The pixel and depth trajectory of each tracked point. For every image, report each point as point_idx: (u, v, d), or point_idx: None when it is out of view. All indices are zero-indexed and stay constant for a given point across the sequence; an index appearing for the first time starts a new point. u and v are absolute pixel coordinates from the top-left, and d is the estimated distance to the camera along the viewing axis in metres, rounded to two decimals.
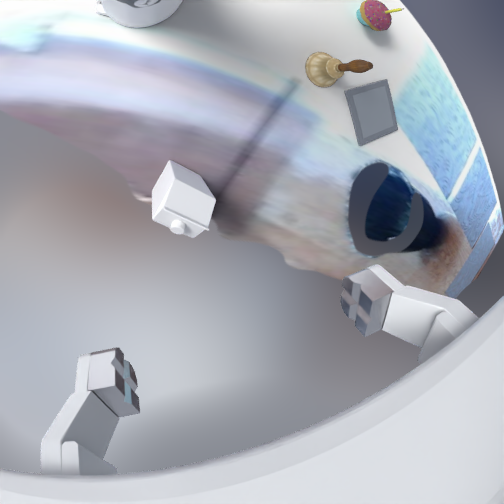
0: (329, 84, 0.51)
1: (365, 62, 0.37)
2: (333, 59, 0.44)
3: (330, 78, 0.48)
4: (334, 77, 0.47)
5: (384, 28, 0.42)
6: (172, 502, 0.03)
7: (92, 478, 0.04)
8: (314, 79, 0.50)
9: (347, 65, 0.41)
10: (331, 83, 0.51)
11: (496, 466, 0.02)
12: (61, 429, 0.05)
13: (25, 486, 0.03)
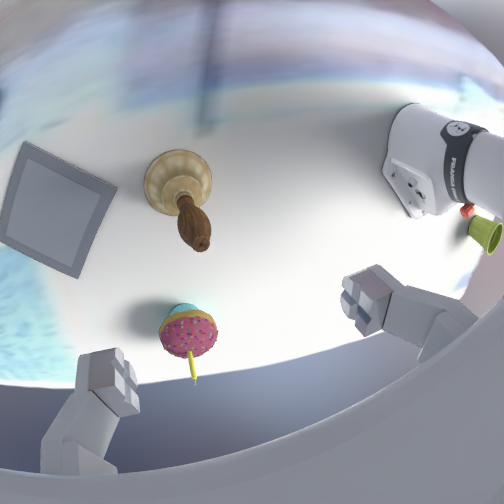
0: (152, 170, 0.30)
1: None
2: (197, 205, 0.29)
3: (172, 174, 0.28)
4: (172, 179, 0.27)
5: (166, 333, 0.36)
6: (172, 502, 0.03)
7: (92, 478, 0.04)
8: (182, 156, 0.31)
9: None
10: (151, 175, 0.30)
11: (496, 466, 0.02)
12: (61, 429, 0.05)
13: (25, 486, 0.03)
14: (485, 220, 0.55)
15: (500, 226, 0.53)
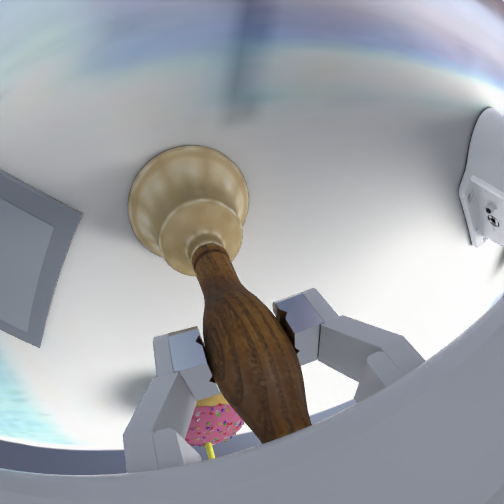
0: (142, 184, 0.16)
1: None
2: (231, 258, 0.15)
3: (180, 194, 0.14)
4: (182, 208, 0.13)
5: None
6: (172, 502, 0.03)
7: (92, 478, 0.04)
8: (199, 157, 0.17)
9: None
10: (139, 192, 0.16)
11: (496, 466, 0.02)
12: (148, 417, 0.06)
13: (25, 486, 0.03)
14: None
15: None
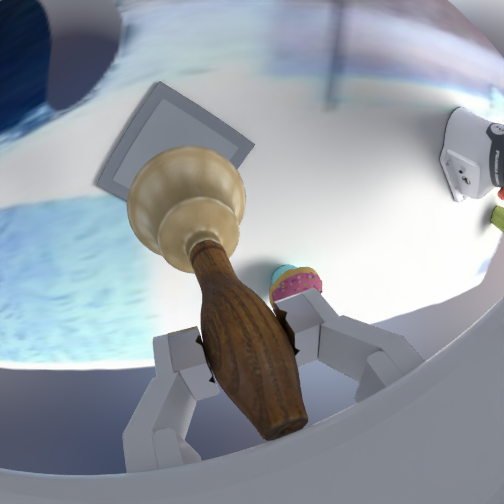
0: (141, 183, 0.16)
1: None
2: (229, 255, 0.16)
3: (178, 193, 0.14)
4: (180, 206, 0.14)
5: (282, 289, 0.39)
6: (172, 502, 0.03)
7: (92, 478, 0.04)
8: (196, 156, 0.17)
9: None
10: (138, 192, 0.16)
11: (496, 466, 0.02)
12: (148, 417, 0.06)
13: (25, 486, 0.03)
14: None
15: None
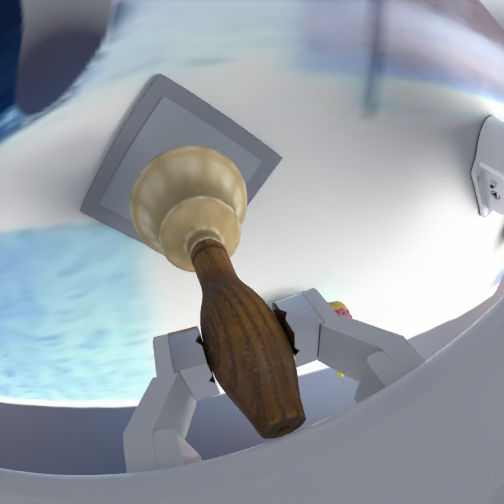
0: (143, 183, 0.16)
1: None
2: (230, 254, 0.16)
3: (179, 192, 0.14)
4: (181, 205, 0.14)
5: None
6: (172, 502, 0.03)
7: (92, 478, 0.04)
8: (197, 156, 0.17)
9: None
10: (140, 191, 0.17)
11: (496, 466, 0.02)
12: (148, 418, 0.06)
13: (25, 486, 0.03)
14: None
15: None
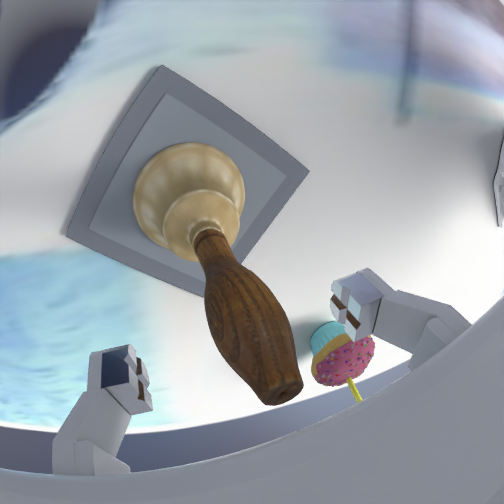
0: (145, 179, 0.17)
1: None
2: (230, 244, 0.17)
3: (181, 187, 0.15)
4: (183, 198, 0.15)
5: (330, 361, 0.28)
6: (172, 502, 0.03)
7: (92, 478, 0.04)
8: (197, 153, 0.18)
9: None
10: (143, 187, 0.17)
11: (496, 466, 0.02)
12: (74, 428, 0.05)
13: (25, 486, 0.03)
14: None
15: None
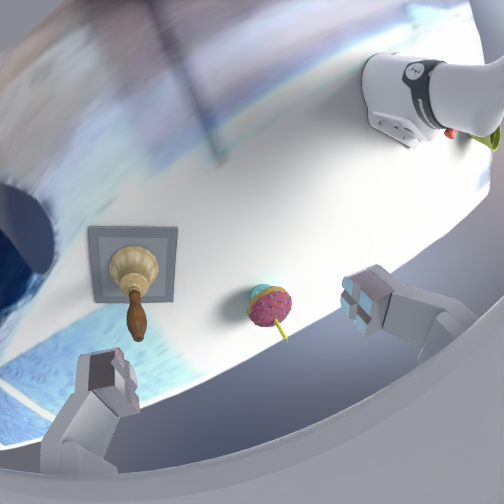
0: (111, 271, 0.41)
1: (143, 332, 0.31)
2: (147, 287, 0.39)
3: (120, 275, 0.38)
4: (121, 281, 0.37)
5: (253, 312, 0.50)
6: (172, 502, 0.03)
7: (92, 478, 0.04)
8: (123, 253, 0.40)
9: (138, 304, 0.34)
10: (112, 274, 0.41)
11: (496, 466, 0.02)
12: (61, 429, 0.05)
13: (25, 486, 0.03)
14: None
15: None
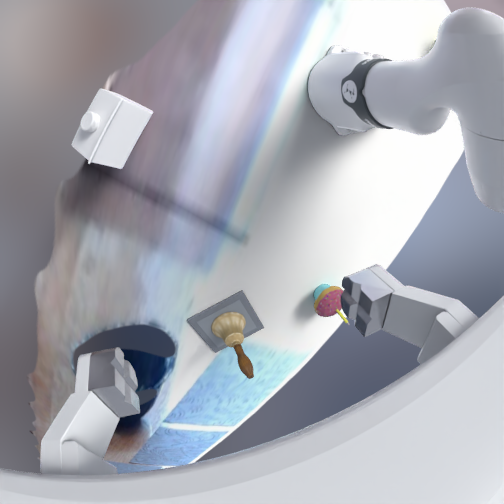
0: (216, 334, 0.65)
1: (251, 372, 0.53)
2: (242, 336, 0.61)
3: (223, 337, 0.61)
4: (225, 341, 0.61)
5: (319, 312, 0.67)
6: (172, 502, 0.03)
7: (92, 478, 0.04)
8: (217, 322, 0.63)
9: (242, 354, 0.56)
10: (217, 336, 0.65)
11: (496, 466, 0.02)
12: (61, 429, 0.05)
13: (25, 486, 0.03)
14: None
15: None
